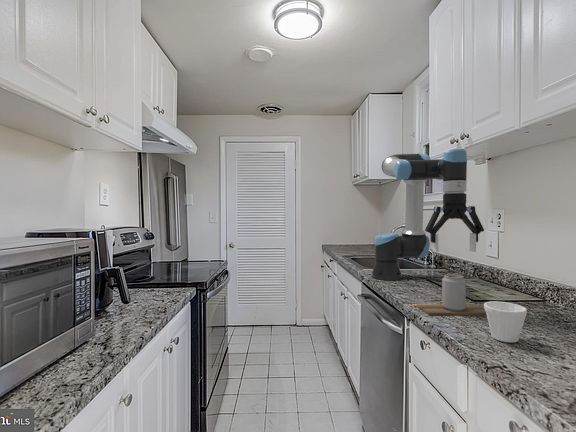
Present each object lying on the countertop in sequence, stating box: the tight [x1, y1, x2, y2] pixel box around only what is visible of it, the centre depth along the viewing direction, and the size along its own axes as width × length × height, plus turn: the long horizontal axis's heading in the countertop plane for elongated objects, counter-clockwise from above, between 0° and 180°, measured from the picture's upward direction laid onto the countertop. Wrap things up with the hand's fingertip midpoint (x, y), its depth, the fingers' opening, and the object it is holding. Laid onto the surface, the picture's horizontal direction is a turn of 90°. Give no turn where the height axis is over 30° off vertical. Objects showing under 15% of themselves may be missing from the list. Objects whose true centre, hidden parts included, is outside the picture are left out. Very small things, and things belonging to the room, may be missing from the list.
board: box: [416, 303, 487, 317], centre depth 114 cm, size 10×22×1 cm, turn 91°
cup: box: [483, 300, 528, 344], centre depth 89 cm, size 10×10×9 cm
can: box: [441, 273, 467, 311], centre depth 113 cm, size 8×8×12 cm
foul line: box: [411, 302, 476, 307], centre depth 120 cm, size 1×24×1 cm, turn 91°
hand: (454, 251), depth 115 cm, fingers open, 13 cm apart
